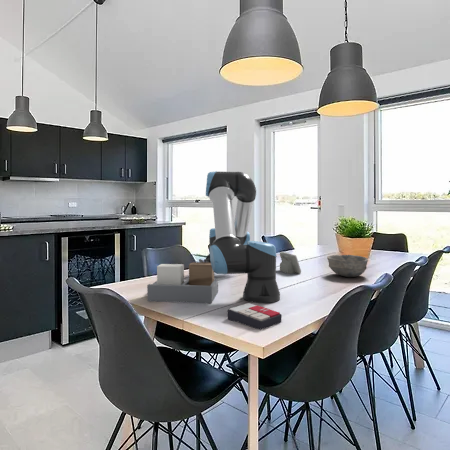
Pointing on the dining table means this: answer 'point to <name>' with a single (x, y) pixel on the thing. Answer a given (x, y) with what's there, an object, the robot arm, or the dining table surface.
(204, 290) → the grey tray
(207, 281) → the brown block
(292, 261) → the grey lumpy piece
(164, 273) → the light grey block
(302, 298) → the dining table surface
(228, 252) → the robot arm
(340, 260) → the bowl
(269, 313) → the calculator
